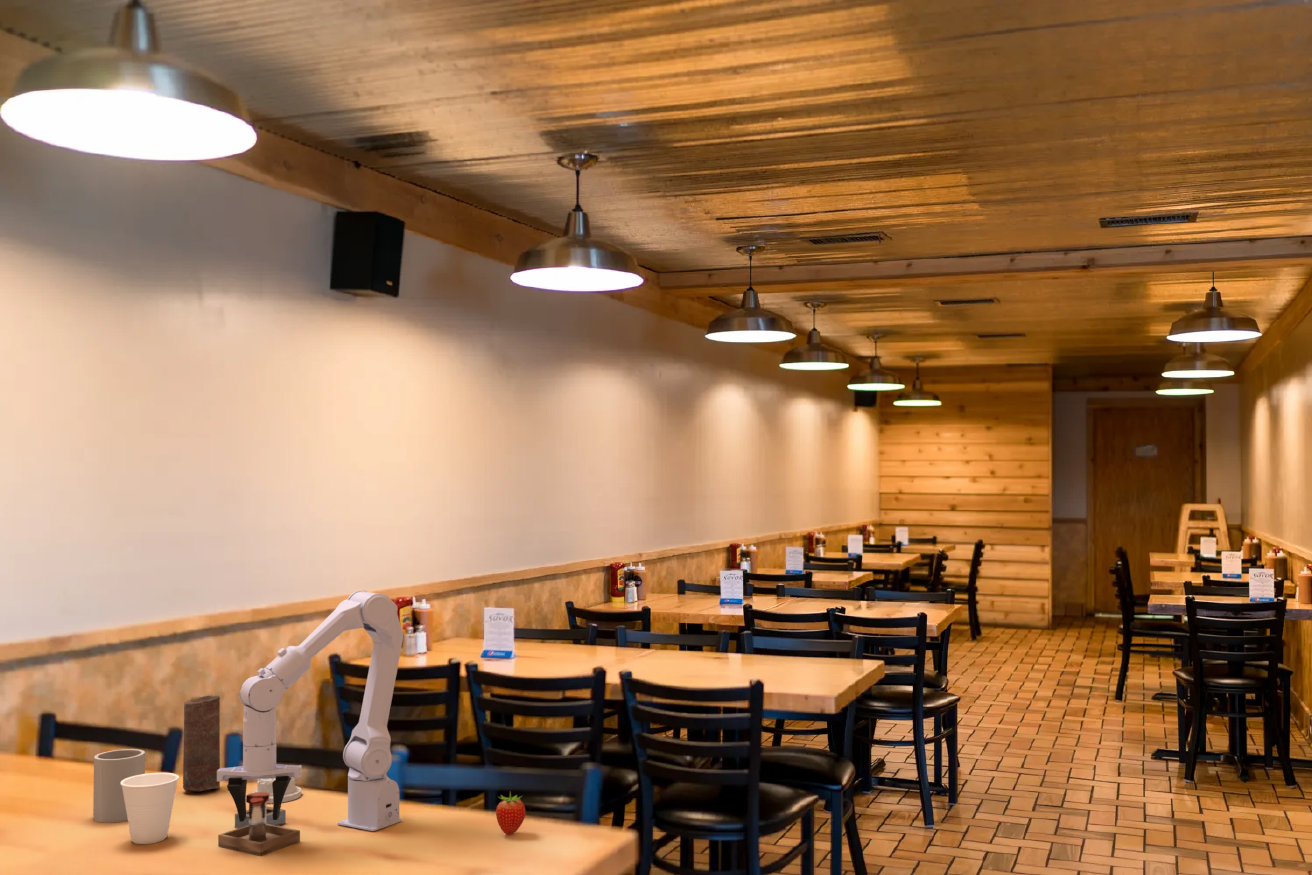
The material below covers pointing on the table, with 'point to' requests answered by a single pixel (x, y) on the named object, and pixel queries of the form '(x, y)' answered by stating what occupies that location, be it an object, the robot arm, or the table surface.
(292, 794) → the white rounded piece
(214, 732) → the candle
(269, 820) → the block
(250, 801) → the spice jar
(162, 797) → the cup
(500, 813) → the fruit
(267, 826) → the tray
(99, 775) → the cup
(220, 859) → the table surface
